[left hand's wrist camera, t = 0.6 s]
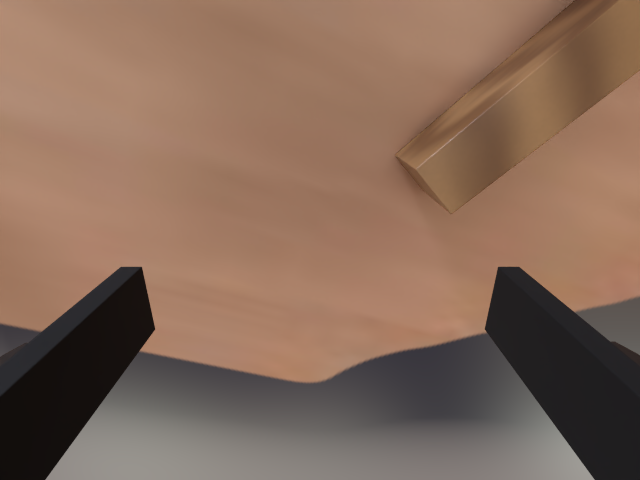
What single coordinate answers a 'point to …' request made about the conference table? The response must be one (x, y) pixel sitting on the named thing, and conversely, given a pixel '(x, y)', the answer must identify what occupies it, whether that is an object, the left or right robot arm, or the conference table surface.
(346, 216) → the conference table surface
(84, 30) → the conference table surface
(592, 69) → the bar
